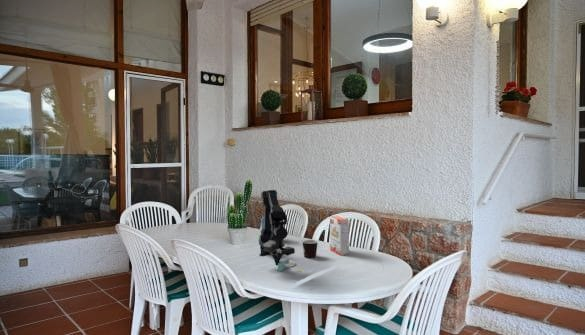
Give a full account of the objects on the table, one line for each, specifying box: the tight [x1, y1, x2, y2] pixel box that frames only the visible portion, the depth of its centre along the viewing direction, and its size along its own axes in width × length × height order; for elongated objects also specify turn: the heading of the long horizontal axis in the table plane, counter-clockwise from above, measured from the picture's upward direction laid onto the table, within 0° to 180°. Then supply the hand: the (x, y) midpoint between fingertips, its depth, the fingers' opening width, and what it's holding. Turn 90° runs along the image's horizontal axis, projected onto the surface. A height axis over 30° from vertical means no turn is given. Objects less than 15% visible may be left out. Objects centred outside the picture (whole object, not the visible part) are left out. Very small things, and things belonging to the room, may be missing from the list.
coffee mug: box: [302, 239, 319, 259], centre depth 215 cm, size 12×9×10 cm
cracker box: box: [329, 215, 350, 256], centre depth 228 cm, size 14×6×21 cm, turn 21°
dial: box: [275, 258, 296, 272], centre depth 196 cm, size 16×10×4 cm, turn 166°
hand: (276, 265), depth 192 cm, fingers closed
